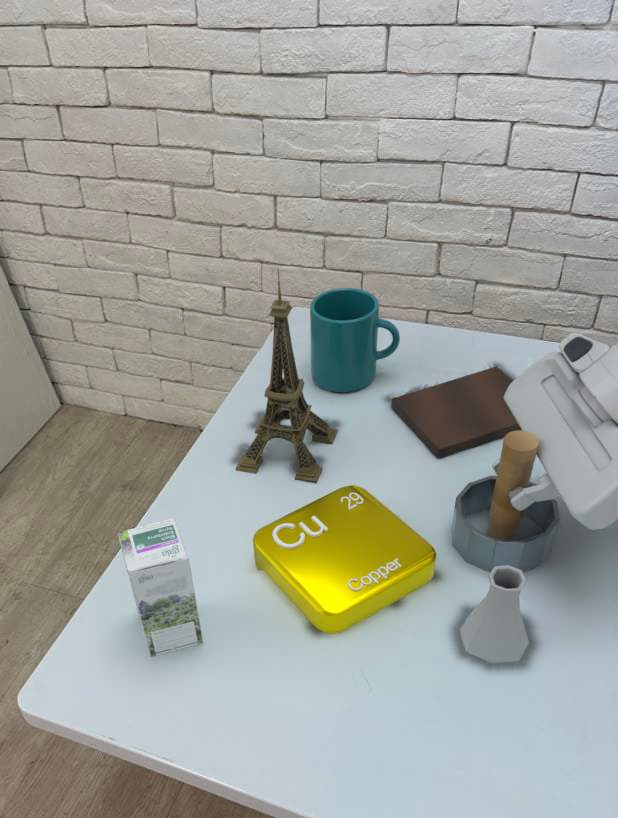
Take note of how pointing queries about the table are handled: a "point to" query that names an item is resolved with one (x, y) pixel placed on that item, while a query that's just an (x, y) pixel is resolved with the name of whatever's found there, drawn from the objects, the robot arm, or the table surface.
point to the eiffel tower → (286, 405)
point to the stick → (511, 483)
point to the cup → (346, 339)
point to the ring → (501, 551)
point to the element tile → (343, 558)
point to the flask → (498, 619)
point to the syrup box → (162, 586)
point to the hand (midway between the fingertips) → (505, 488)
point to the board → (459, 412)
